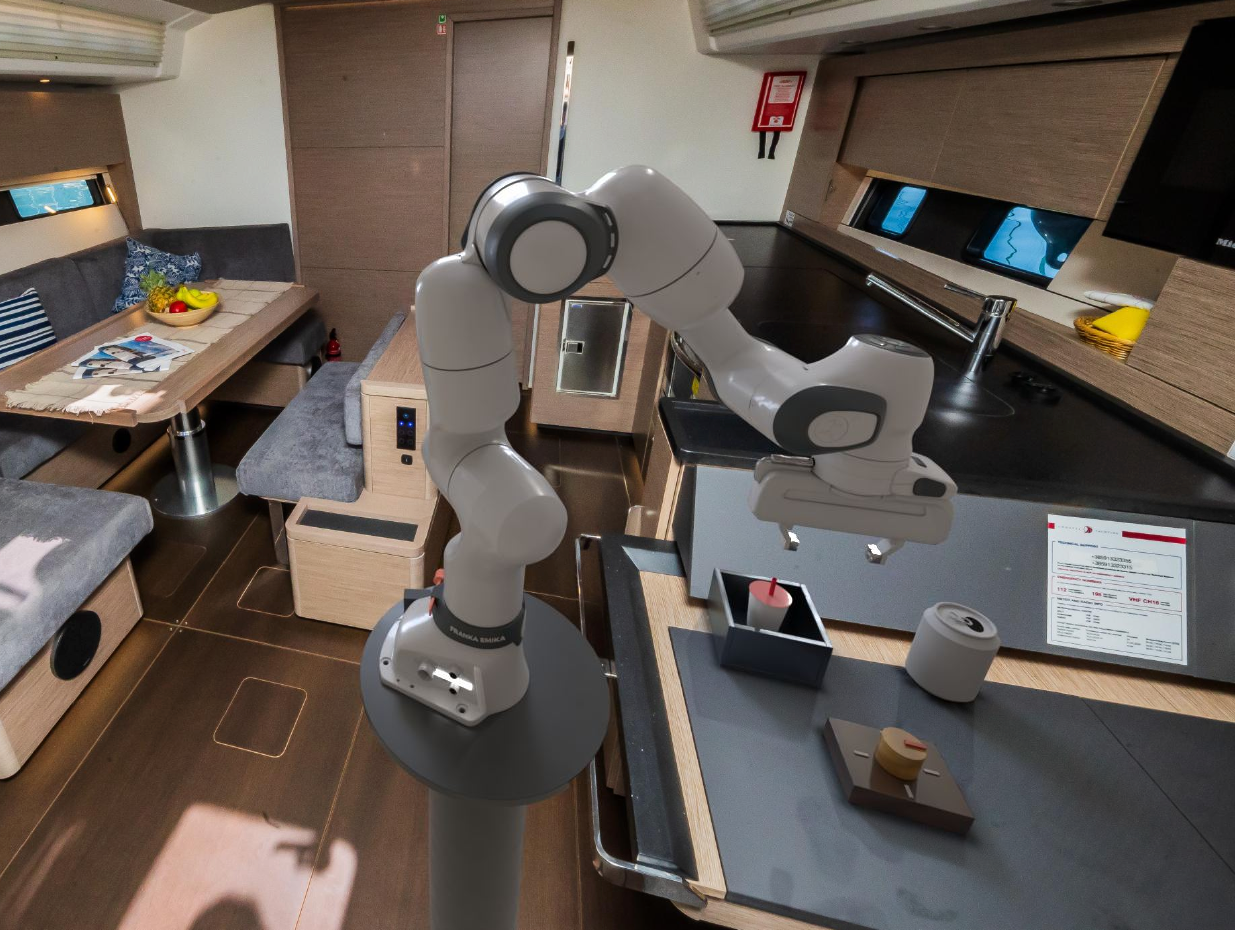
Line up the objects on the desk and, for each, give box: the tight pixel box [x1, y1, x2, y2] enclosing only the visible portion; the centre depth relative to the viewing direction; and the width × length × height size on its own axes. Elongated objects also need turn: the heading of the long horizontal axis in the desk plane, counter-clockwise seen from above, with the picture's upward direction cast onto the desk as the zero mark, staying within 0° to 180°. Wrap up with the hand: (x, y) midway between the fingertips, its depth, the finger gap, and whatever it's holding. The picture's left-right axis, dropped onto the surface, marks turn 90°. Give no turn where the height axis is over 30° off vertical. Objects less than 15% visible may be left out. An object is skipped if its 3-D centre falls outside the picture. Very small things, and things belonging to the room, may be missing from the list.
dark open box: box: [706, 567, 835, 690], centre depth 87 cm, size 13×13×8 cm
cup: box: [747, 576, 792, 632], centre depth 87 cm, size 5×5×12 cm
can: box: [904, 601, 1002, 703], centre depth 79 cm, size 8×8×12 cm
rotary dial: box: [822, 716, 976, 836], centre depth 69 cm, size 11×9×3 cm
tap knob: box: [874, 726, 927, 780], centre depth 68 cm, size 4×4×4 cm
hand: (830, 554), depth 75 cm, fingers open, 8 cm apart
